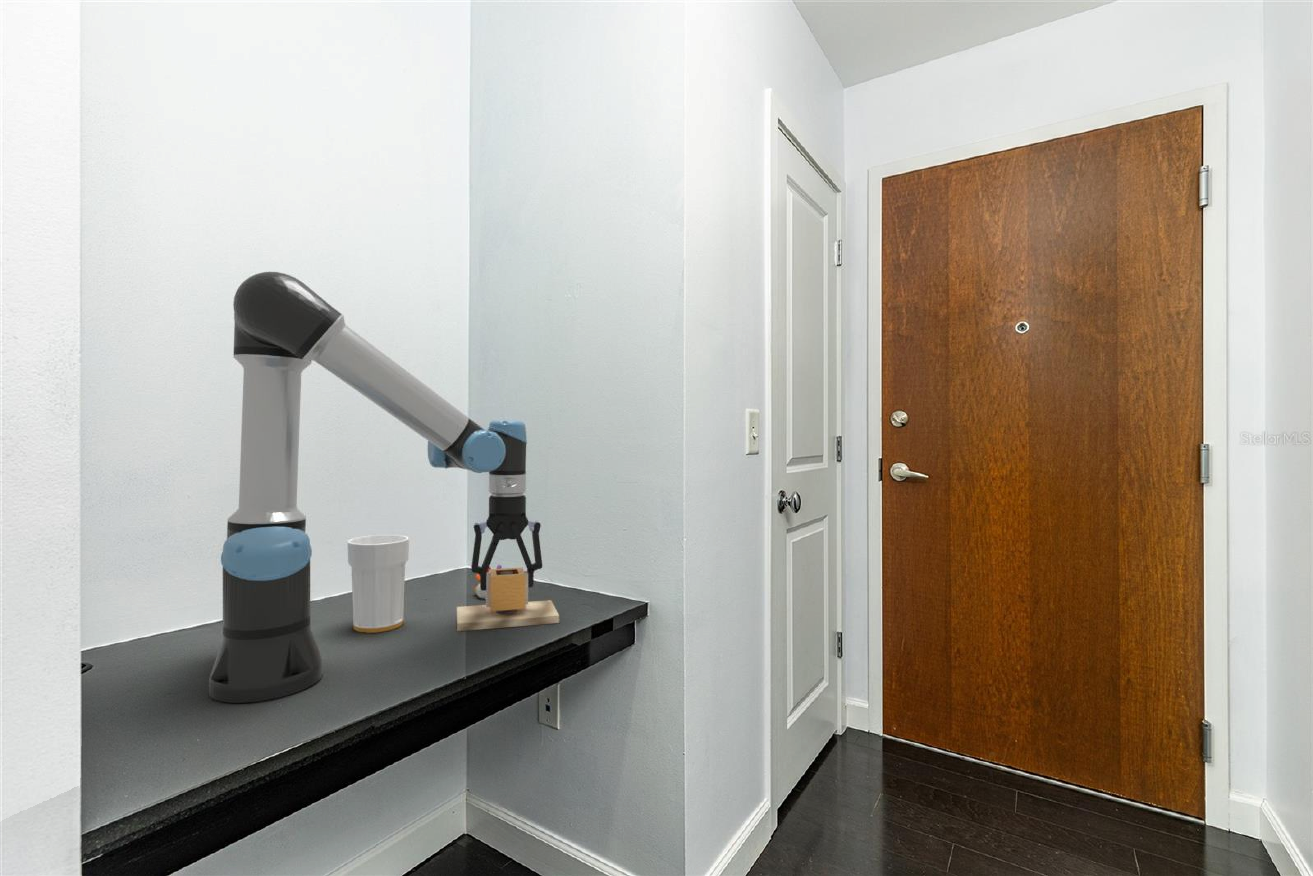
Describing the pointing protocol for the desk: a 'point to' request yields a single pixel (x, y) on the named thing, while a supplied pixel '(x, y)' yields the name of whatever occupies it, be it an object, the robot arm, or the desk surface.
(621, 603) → the desk surface
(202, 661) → the desk surface
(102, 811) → the desk surface
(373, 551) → the cup
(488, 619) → the keeper
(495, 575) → the wooden pen holder
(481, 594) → the colorful toy
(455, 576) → the desk surface
